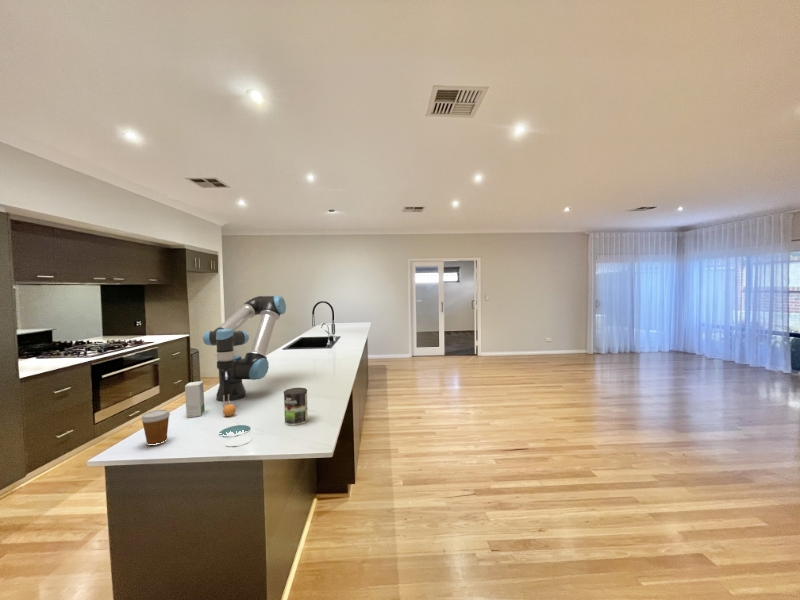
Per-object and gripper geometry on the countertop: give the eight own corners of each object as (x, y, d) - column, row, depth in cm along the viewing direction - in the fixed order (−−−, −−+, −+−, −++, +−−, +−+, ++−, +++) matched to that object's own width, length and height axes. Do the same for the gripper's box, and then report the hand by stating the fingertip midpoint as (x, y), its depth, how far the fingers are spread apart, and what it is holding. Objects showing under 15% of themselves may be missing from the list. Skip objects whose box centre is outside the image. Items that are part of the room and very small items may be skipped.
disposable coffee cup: (146, 440, 139) (144, 411, 139) (173, 435, 143) (172, 407, 142) (138, 450, 130) (137, 419, 130) (168, 445, 134) (167, 415, 134)
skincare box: (200, 416, 165) (199, 384, 164) (185, 418, 163) (183, 386, 162) (205, 410, 173) (203, 380, 172) (190, 412, 171) (188, 381, 170)
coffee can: (299, 426, 149) (297, 394, 149) (279, 424, 153) (278, 393, 152) (312, 418, 159) (311, 388, 158) (294, 415, 162) (293, 386, 162)
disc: (229, 425, 152) (229, 425, 152) (255, 425, 152) (255, 425, 152) (212, 437, 140) (212, 436, 140) (241, 437, 140) (241, 436, 140)
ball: (227, 413, 167) (226, 402, 167) (238, 413, 167) (237, 402, 167) (220, 417, 162) (220, 406, 162) (231, 417, 162) (231, 406, 162)
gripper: (216, 358, 174) (217, 405, 174) (217, 362, 162) (218, 412, 162) (232, 357, 177) (233, 402, 178) (234, 361, 166) (235, 409, 166)
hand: (226, 407), depth 170 cm, fingers closed
